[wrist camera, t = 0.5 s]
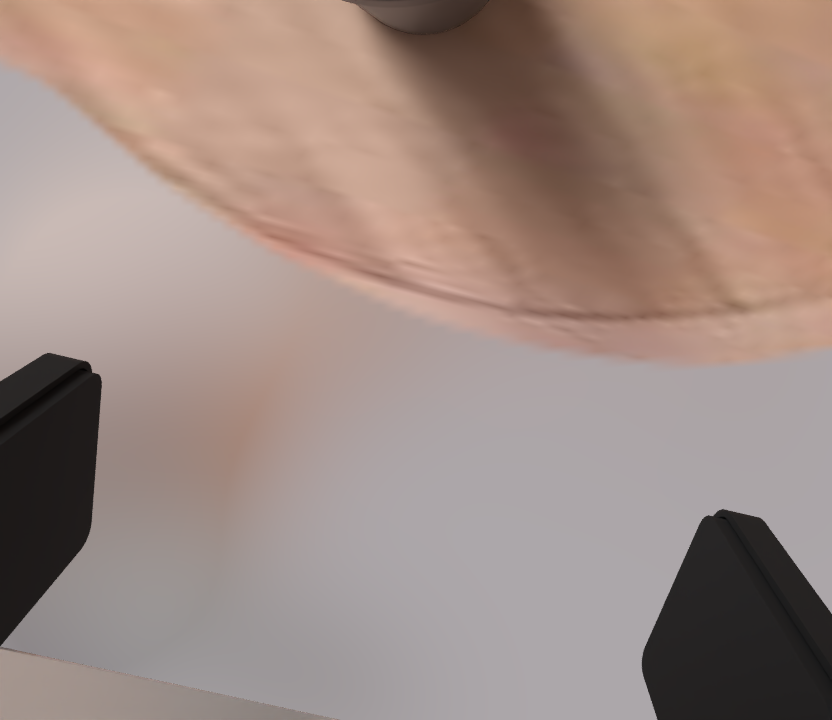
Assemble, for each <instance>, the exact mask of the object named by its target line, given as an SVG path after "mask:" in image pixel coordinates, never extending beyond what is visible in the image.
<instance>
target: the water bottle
mask: <svg viewBox="0 0 832 720" xmlns="http://www.w3.org/2000/svg"><path fill="white" fill-rule="evenodd" d="M343 1H346V2H350V3H354V4H356V5H358V6H359V7H360V8H362V9H363V10H365V11H366V12H368V13H369V14H370V15H372V16H373V17H375V18H376V19H378V20H379V21H380V22H382V23H384V24H385V25H387V26H389V27H391V28H394V29H396V30H399V31H402V32H406V33H411V34H421V35H426V34H436V33H441V32H444V31H448V30H450V29H453V28H455V27H457V26H459V25H461V24H463V23H465V22H466V21H468V20H469V19H470V18H472V17H473V16H474V15H475V14H477V13H478V12H479V11H480V10H481V9H482V8H483V7H484V6H485V5H486V3H487V2H488V1H489V0H343Z"/></svg>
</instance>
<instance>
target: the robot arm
mask: <svg viewBox="0 0 832 720" xmlns="http://www.w3.org/2000/svg"><path fill="white" fill-rule="evenodd" d="M101 384H102V381H101V377H100V375H99V374H95V373H92V369H91V365H90V364H89V363H88V362H86V361H82V360H77V359H73V358H69V357H65V356H60V355H56V354H52V353H47V354H44V355H42V356H41V357H39V358H37V359H36V360H34V361H33V362H31V363H29V364H28V365H26V366H24V367H23V368H22V369H20V370H18V371H16V372H15V373H13V374H12V375H10V376H8V377H7V378H5V379H3V380H2V381H0V646H1V645H2V644H3V642H4V641H5V640H6V639H7V638H8V636H9V635H10V634H11V633H12V631H13V630H14V629H15V628H16V627H17V626H18V624H19V623H20V622H21V621H22V619H23V618H24V617H25V616H26V615H27V613H28V612H29V611H30V610H31V609H32V607H33V606H34V605H35V604H36V603H37V602H38V600H39V599H40V598H41V597H42V596H43V594H44V593H45V592H46V591H47V589H48V588H49V587H50V586H51V585H52V584H53V582H54V581H55V580H56V579H57V577H58V576H59V575H60V574H61V573H62V572H63V570H64V569H65V568H66V567H67V566H68V564H69V563H70V562H71V561H72V560H73V558H74V557H75V556H76V554H77V553H78V552H79V551H80V550H81V549H82V547H83V546H84V544H85V542H86V540H87V537H88V535H89V532H90V528H91V522H92V509H93V494H94V481H95V468H96V455H97V441H98V428H99V414H100V400H101V388H102V385H101ZM642 672H643V676H644V679H645V682H646V685H647V688H648V692H649V694H650V698H651V701H652V704H653V707H654V710H655V713H656V716H657V719H658V720H832V614H831V612H830V611H829V610H828V608H827V607H826V605H825V604H824V603H823V602H822V600H821V599H820V597H819V596H818V595H817V593H816V592H815V590H814V589H813V588H812V586H811V585H810V584H809V582H808V581H807V579H806V578H805V577H804V575H803V574H802V573H801V571H800V570H799V569H798V567H797V566H796V564H795V563H794V562H793V560H792V559H791V558H790V556H789V555H788V553H787V552H786V551H785V549H784V548H783V546H782V545H781V544H780V542H779V541H778V540H777V538H776V537H775V535H774V534H773V533H772V531H771V530H770V529H769V527H768V526H767V524H766V523H765V522H764V521H763V520H762V519H761V518H758V517H754V516H750V515H745V514H741V513H736V512H733V511H728V510H724V509H722V510H719V511H718V512H717V513H716V514H715V515H714V516H709V515H708V516H706V517H704V519H702V521H701V523H700V525H699V527H698V529H697V531H696V533H695V536H694V538H693V540H692V542H691V545H690V547H689V549H688V552H687V554H686V556H685V558H684V560H683V563H682V565H681V567H680V570H679V572H678V574H677V576H676V579H675V581H674V583H673V585H672V588H671V590H670V592H669V594H668V597H667V599H666V601H665V603H664V606H663V608H662V610H661V613H660V615H659V617H658V619H657V621H656V624H655V626H654V628H653V630H652V633H651V635H650V637H649V639H648V642H647V644H646V646H645V649H644V652H643V657H642ZM0 720H338V719H332V718H328V717H323V716H319V715H314V714H310V713H305V712H301V711H296V710H291V709H286V708H282V707H277V706H273V705H268V704H264V703H259V702H254V701H250V700H245V699H241V698H236V697H232V696H227V695H222V694H218V693H213V692H209V691H204V690H199V689H195V688H190V687H186V686H181V685H177V684H172V683H167V682H163V681H158V680H153V679H148V678H143V677H139V676H134V675H129V674H125V673H120V672H115V671H110V670H106V669H101V668H97V667H92V666H87V665H83V664H78V663H73V662H68V661H64V660H59V659H55V658H50V657H45V656H41V655H36V654H31V653H26V652H22V651H17V650H12V649H8V648H3V647H0Z"/></svg>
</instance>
